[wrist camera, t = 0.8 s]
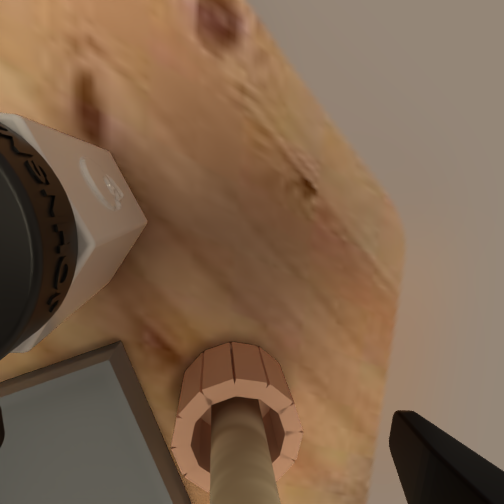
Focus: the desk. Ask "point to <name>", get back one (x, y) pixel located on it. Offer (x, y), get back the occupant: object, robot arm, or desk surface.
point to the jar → (56, 228)
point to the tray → (84, 436)
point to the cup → (227, 386)
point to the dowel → (240, 455)
